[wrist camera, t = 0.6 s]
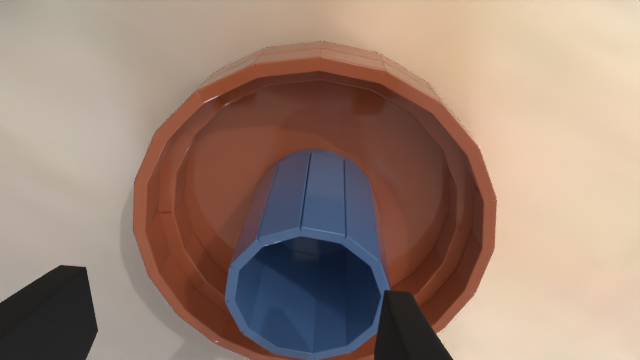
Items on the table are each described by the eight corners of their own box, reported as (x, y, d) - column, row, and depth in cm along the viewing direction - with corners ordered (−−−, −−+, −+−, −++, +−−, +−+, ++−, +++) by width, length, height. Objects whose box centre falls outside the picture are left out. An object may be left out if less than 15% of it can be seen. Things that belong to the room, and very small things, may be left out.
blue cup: (360, 261, 23) (367, 370, 17) (249, 241, 22) (217, 344, 16) (388, 161, 20) (409, 247, 14) (266, 137, 20) (235, 214, 14)
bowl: (420, 337, 25) (432, 393, 22) (156, 290, 24) (129, 340, 21) (520, 80, 19) (557, 105, 16) (172, 6, 18) (138, 18, 15)
